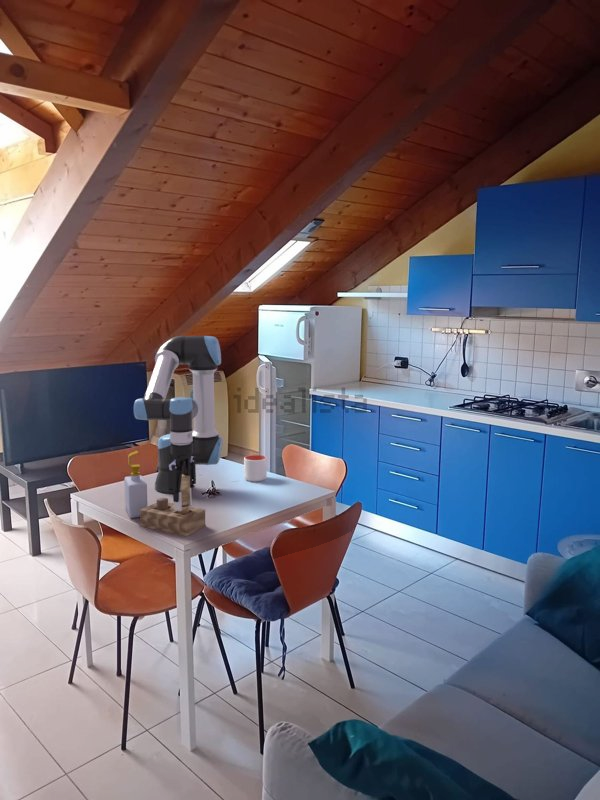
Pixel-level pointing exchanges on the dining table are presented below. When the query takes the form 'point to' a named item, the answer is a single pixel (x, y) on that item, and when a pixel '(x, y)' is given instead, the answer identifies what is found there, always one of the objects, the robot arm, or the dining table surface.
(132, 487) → the soap bottle
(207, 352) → the robot arm
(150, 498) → the dining table surface
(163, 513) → the block
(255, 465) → the cup
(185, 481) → the leg
